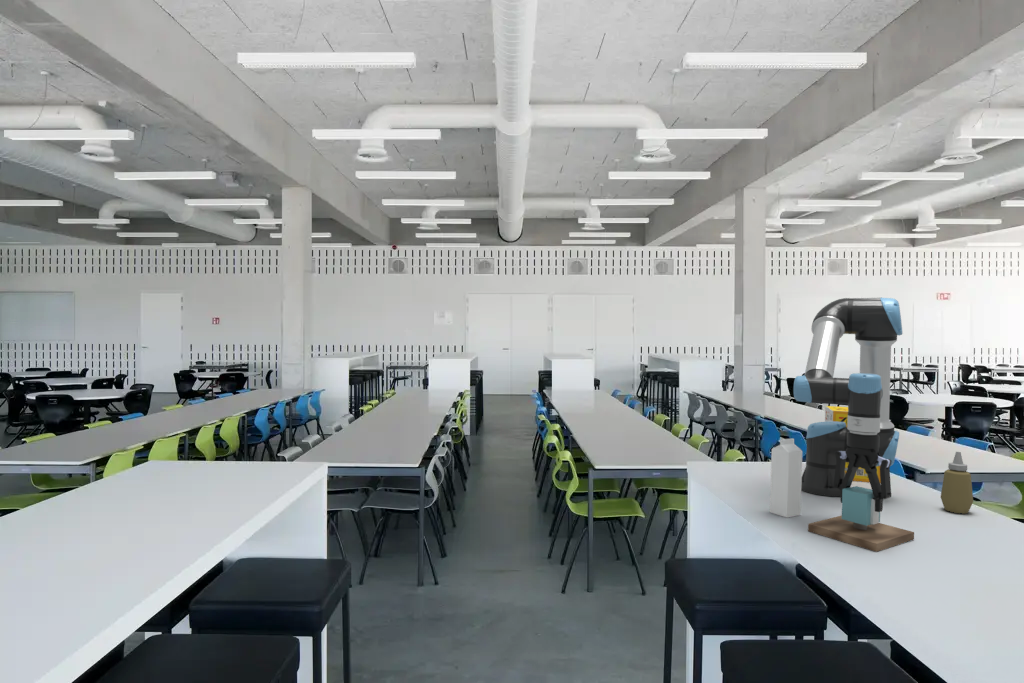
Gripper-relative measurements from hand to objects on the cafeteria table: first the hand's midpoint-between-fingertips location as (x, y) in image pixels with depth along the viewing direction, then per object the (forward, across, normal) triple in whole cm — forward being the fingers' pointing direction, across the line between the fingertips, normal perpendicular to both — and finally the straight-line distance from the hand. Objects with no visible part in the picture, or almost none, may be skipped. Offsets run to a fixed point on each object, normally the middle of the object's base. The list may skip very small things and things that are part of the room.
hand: (860, 519), depth 167 cm
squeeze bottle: (+4, +2, +49) cm, 49 cm away
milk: (+4, -22, 0) cm, 23 cm away
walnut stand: (+4, 0, 0) cm, 4 cm away
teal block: (0, 0, 0) cm, 0 cm away
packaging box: (+4, -40, +66) cm, 77 cm away
